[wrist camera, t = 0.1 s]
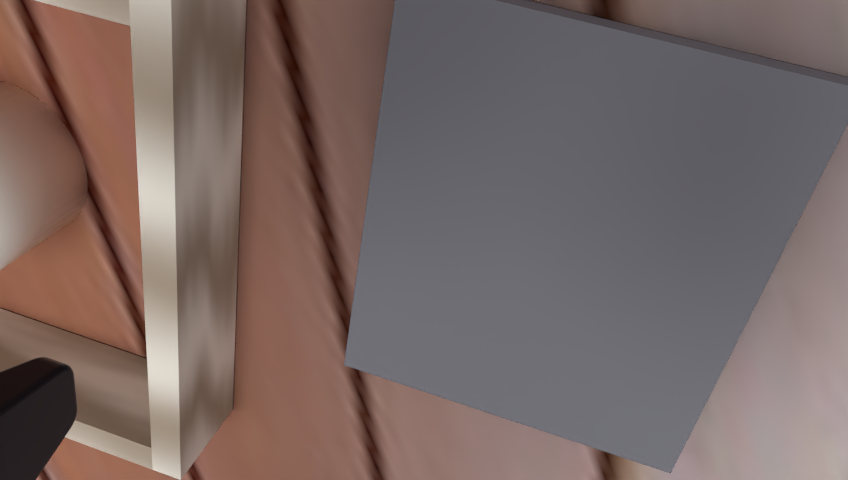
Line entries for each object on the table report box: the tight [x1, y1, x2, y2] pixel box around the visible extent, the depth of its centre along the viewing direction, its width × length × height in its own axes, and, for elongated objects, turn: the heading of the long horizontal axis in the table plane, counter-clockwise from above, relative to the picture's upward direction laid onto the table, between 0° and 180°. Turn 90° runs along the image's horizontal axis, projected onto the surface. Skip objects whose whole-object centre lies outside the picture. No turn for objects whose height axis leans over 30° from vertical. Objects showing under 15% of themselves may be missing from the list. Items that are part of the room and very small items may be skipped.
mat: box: [344, 0, 848, 473], centre depth 23 cm, size 14×12×1 cm
